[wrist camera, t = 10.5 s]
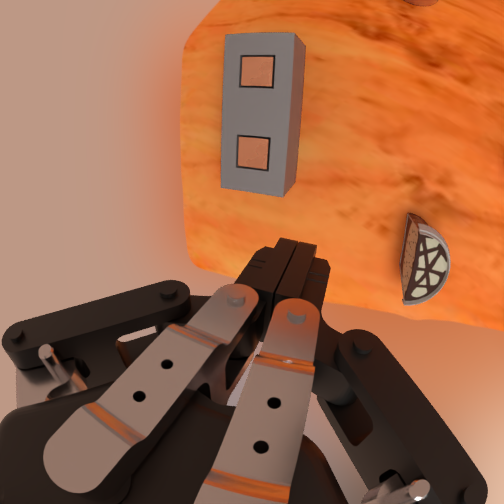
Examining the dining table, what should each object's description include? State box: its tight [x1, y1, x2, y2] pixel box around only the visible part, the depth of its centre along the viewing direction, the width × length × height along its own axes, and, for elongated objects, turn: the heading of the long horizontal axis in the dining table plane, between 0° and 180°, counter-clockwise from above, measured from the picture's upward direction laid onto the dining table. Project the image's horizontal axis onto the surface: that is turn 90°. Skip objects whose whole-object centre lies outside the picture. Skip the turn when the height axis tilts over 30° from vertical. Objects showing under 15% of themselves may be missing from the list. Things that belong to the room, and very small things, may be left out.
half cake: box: [399, 213, 450, 305], centre depth 36 cm, size 12×6×10 cm, turn 5°
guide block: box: [221, 33, 306, 197], centre depth 36 cm, size 22×9×8 cm, turn 177°
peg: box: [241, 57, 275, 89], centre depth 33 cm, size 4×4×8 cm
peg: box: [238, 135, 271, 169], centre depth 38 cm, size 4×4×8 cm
